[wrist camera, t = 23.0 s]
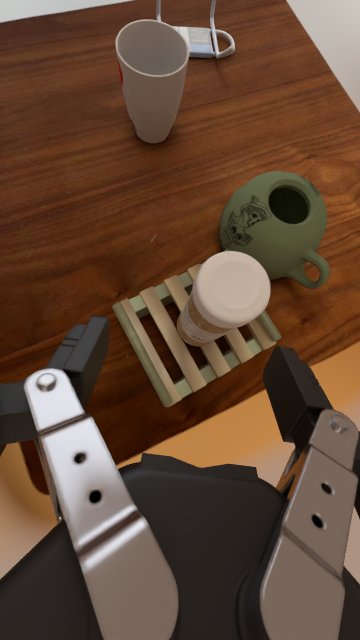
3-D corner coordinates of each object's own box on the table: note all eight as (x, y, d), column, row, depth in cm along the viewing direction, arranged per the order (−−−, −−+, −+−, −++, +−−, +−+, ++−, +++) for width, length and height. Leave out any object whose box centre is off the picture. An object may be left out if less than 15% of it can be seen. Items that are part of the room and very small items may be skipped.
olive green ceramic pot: (197, 221, 37) (211, 175, 28) (271, 187, 39) (305, 136, 31) (257, 321, 35) (292, 304, 26) (332, 278, 37) (385, 250, 29)
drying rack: (163, 404, 31) (166, 411, 25) (117, 316, 33) (109, 302, 26) (260, 346, 34) (285, 340, 28) (213, 268, 36) (227, 245, 29)
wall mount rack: (228, 26, 45) (239, -24, 39) (242, 91, 42) (256, 47, 37) (136, 22, 43) (133, -31, 37) (144, 90, 40) (143, 44, 35)
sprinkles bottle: (223, 316, 29) (283, 267, 16) (208, 354, 28) (258, 335, 15) (185, 299, 29) (214, 236, 16) (168, 336, 28) (184, 302, 15)
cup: (138, 98, 40) (135, 8, 30) (188, 120, 40) (199, 38, 30) (114, 137, 38) (102, 56, 28) (166, 161, 38) (172, 87, 28)
